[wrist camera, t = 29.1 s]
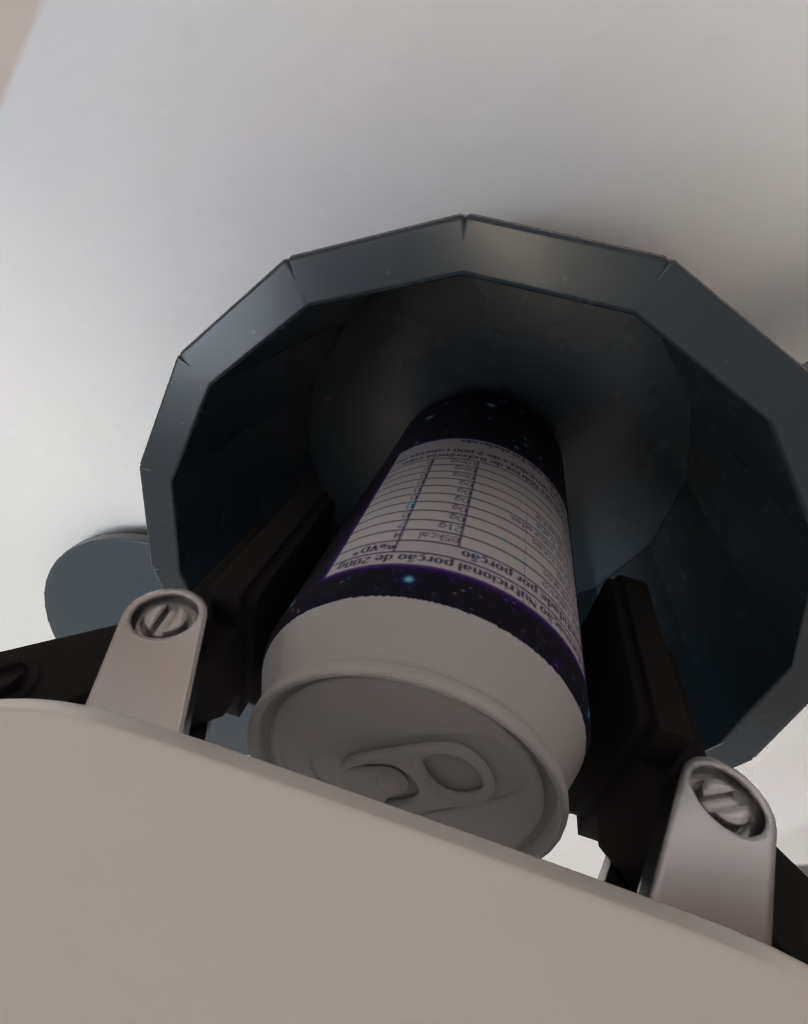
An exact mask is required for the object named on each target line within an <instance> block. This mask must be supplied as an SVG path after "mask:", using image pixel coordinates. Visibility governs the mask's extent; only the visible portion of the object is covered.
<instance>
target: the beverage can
mask: <svg viewBox="0 0 808 1024" xmlns="http://www.w3.org/2000/svg"><path fill="white" fill-rule="evenodd" d="M590 738H591V722H590V712H589V703H588V694H587V684H586V675H585V665H584V656H583V646H582V637H581V628H580V618H579V609H578V599H577V590H576V580H575V571H574V562H573V552H572V543H571V533H570V524H569V514H568V505H567V496H566V486H565V477H564V467H563V460H562V455H561V451H560V448H559V446H558V443H557V441H556V439H555V437H554V435H553V434H552V432H551V430H550V429H549V428H548V426H547V425H546V424H545V423H544V422H543V421H542V420H541V419H540V418H539V417H538V416H537V415H536V414H535V413H534V412H532V411H531V410H530V409H528V408H527V407H525V406H523V405H522V404H520V403H518V402H516V401H514V400H511V399H508V398H506V397H502V396H499V395H494V394H488V393H465V394H459V395H454V396H451V397H448V398H445V399H442V400H440V401H438V402H436V403H434V404H432V405H430V406H429V407H427V408H426V409H424V410H423V411H422V412H421V413H420V414H418V415H417V416H416V417H415V418H414V419H413V421H412V422H411V423H410V424H409V426H408V427H407V428H406V430H405V431H404V433H403V434H402V436H401V437H400V439H399V441H398V442H397V444H396V445H395V447H394V448H393V450H392V451H391V453H390V454H389V456H388V457H387V459H386V460H385V462H384V463H383V465H382V466H381V468H380V469H379V471H378V472H377V474H376V475H375V477H374V478H373V480H372V481H371V483H370V484H369V486H368V488H367V489H366V491H365V492H364V494H363V495H362V497H361V498H360V500H359V501H358V503H357V504H356V506H355V507H354V509H353V510H352V512H351V513H350V515H349V516H348V518H347V519H346V521H345V522H344V524H343V525H342V527H341V528H340V530H339V531H338V533H337V535H336V536H335V538H334V539H333V541H332V542H331V544H330V545H329V547H328V548H327V550H326V551H325V553H324V554H323V556H322V557H321V559H320V560H319V562H318V563H317V565H316V566H315V568H314V569H313V571H312V572H311V574H310V575H309V577H308V578H307V580H306V582H305V583H304V585H303V586H302V588H301V589H300V591H299V592H298V594H297V595H296V597H295V598H294V600H293V601H292V603H291V604H290V606H289V607H288V609H287V610H286V612H285V613H284V615H283V616H282V618H281V619H280V621H279V622H278V624H277V625H276V627H275V629H274V630H273V632H272V633H271V635H270V637H269V640H268V642H267V645H266V648H265V651H264V656H263V664H262V696H261V698H260V699H259V701H258V702H257V704H256V706H255V708H254V709H253V711H252V714H251V717H250V721H249V725H248V738H247V741H248V747H249V753H250V757H253V758H256V759H259V760H262V761H265V762H268V763H271V764H273V765H276V766H279V767H282V768H285V769H288V770H291V771H294V772H296V773H299V774H302V775H305V776H308V777H311V778H314V779H317V780H320V781H322V782H325V783H328V784H331V785H334V786H337V787H340V788H342V789H345V790H348V791H351V792H354V793H357V794H359V795H362V796H365V797H368V798H371V799H374V800H376V801H379V802H382V803H385V804H388V805H391V806H394V807H396V808H399V809H402V810H405V811H408V812H411V813H413V814H416V815H419V816H422V817H425V818H428V819H430V820H433V821H436V822H439V823H442V824H444V825H447V826H450V827H453V828H456V829H459V830H461V831H464V832H467V833H470V834H473V835H476V836H478V837H481V838H484V839H487V840H490V841H492V842H495V843H498V844H501V845H504V846H506V847H509V848H512V849H515V850H518V851H520V852H523V853H526V854H529V855H531V856H534V857H537V858H540V859H541V858H543V857H544V856H545V855H547V854H548V853H549V852H550V851H551V850H552V849H553V848H554V846H555V845H556V844H557V843H558V842H559V840H560V839H561V836H562V834H563V832H564V829H565V827H566V824H567V820H568V813H569V799H568V790H569V788H570V787H571V785H572V783H573V781H574V779H575V778H576V776H577V774H578V772H579V771H580V769H581V767H582V765H583V762H584V760H585V757H586V755H587V752H588V749H589V745H590Z"/></svg>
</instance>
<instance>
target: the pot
mask: <svg viewBox="0 0 808 1024" xmlns="http://www.w3.org/2000/svg"><path fill="white" fill-rule="evenodd" d="M465 393H488V394H494V395H499V396H502V397H506V398H508V399H511V400H514V401H516V402H518V403H520V404H522V405H523V406H525V407H527V408H528V409H530V410H531V411H532V412H534V413H535V414H536V415H537V416H538V417H539V418H540V419H541V420H542V421H543V422H544V423H545V424H546V425H547V426H548V428H549V429H550V430H551V432H552V434H553V435H554V437H555V439H556V441H557V443H558V446H559V448H560V451H561V455H562V460H563V467H564V477H565V486H566V496H567V505H568V514H569V524H570V533H571V543H572V552H573V562H574V571H575V580H576V590H577V599H578V609H579V618H580V628H581V626H582V624H583V622H584V620H585V618H586V616H587V614H588V612H589V611H590V609H591V607H592V605H593V603H594V601H595V599H596V597H597V595H598V594H599V592H600V590H601V588H602V586H603V584H604V582H605V581H606V580H607V579H608V578H610V579H613V580H614V579H615V578H616V577H617V576H618V575H622V576H626V577H629V578H633V579H636V580H640V581H643V582H645V583H646V584H647V586H648V589H649V592H650V595H651V599H652V602H653V605H654V608H655V612H656V615H657V618H658V621H659V625H660V628H661V631H662V635H663V638H664V641H665V644H666V648H667V649H669V650H670V651H671V652H672V653H673V655H674V657H675V660H676V663H677V666H678V669H679V672H680V675H681V678H682V682H683V685H684V688H685V691H686V694H687V697H688V700H689V703H690V707H691V710H692V713H693V716H694V719H695V722H696V725H697V729H698V732H699V735H700V738H701V741H702V744H703V747H704V750H705V754H706V757H710V758H713V759H717V760H720V761H722V762H724V763H725V764H727V765H729V766H731V767H733V768H734V767H736V766H738V765H741V764H743V763H745V762H748V761H750V760H752V759H753V757H756V756H757V755H758V754H759V753H760V752H761V751H762V750H763V749H764V748H765V747H766V746H767V745H768V744H769V743H770V742H771V741H772V740H773V739H774V737H775V736H776V735H777V734H778V733H779V732H780V731H781V730H782V729H783V728H784V727H785V726H786V725H787V724H788V723H789V722H790V721H791V720H792V719H793V718H794V717H795V716H796V715H797V714H798V713H799V712H800V711H801V710H802V709H803V708H804V707H805V706H806V705H807V704H808V362H806V363H803V364H799V363H798V362H797V361H796V360H795V359H793V358H792V357H791V356H790V355H789V354H787V353H786V352H785V351H784V350H783V349H781V348H780V347H779V346H778V345H777V344H775V343H774V342H773V341H772V340H771V339H769V338H768V337H767V336H766V335H765V334H763V333H762V332H761V331H760V330H759V329H757V328H756V327H755V326H754V325H752V324H751V323H750V322H749V321H748V320H746V319H745V318H744V317H743V316H742V315H740V314H739V313H738V312H737V311H736V310H734V309H733V308H732V307H731V306H730V305H728V304H727V303H726V302H725V301H724V300H722V299H721V298H720V297H719V296H718V295H716V294H715V293H714V292H713V291H712V290H710V289H709V288H708V287H707V286H705V285H704V284H703V283H702V282H701V281H699V280H698V279H697V278H696V277H695V276H693V275H692V274H691V273H690V272H689V271H687V270H686V269H685V268H684V267H683V266H681V265H680V264H679V263H678V262H677V261H675V260H672V259H668V258H667V257H666V256H664V255H659V254H655V253H650V252H645V251H641V250H636V249H632V248H627V247H623V246H618V245H613V244H609V243H604V242H600V241H595V240H590V239H586V238H581V237H577V236H572V235H568V234H563V233H558V232H554V231H549V230H545V229H540V228H535V227H531V226H526V225H522V224H517V223H513V222H508V221H503V220H499V219H494V218H490V217H485V216H480V215H476V214H468V215H463V214H457V215H453V216H449V217H445V218H441V219H437V220H433V221H429V222H425V223H421V224H417V225H413V226H409V227H405V228H400V229H396V230H392V231H388V232H384V233H380V234H376V235H372V236H368V237H364V238H360V239H356V240H352V241H348V242H344V243H340V244H336V245H332V246H328V247H324V248H320V249H316V250H312V251H308V252H304V253H300V254H296V255H292V256H291V257H290V258H289V259H285V260H283V261H282V262H281V263H279V264H278V265H277V266H276V267H275V268H274V269H273V270H272V271H271V272H269V273H268V274H267V275H266V276H265V277H264V278H263V279H262V280H261V281H259V282H258V283H257V284H256V285H255V286H254V287H253V288H252V289H251V290H249V291H248V292H247V293H246V294H245V295H244V296H243V297H242V298H240V299H239V300H238V301H237V302H236V303H235V304H234V305H233V306H232V307H230V308H229V309H228V310H227V311H226V312H225V313H224V314H223V315H222V316H220V317H219V318H218V319H217V320H216V321H215V322H214V323H213V324H211V325H210V326H209V327H208V328H207V329H206V330H205V331H204V332H203V333H201V334H200V335H199V336H198V337H197V338H196V339H195V340H194V341H193V342H191V343H190V344H189V345H188V346H187V347H186V348H185V349H184V350H183V351H182V352H181V353H180V355H179V356H178V357H177V360H176V362H175V365H174V368H173V371H172V374H171V377H170V380H169V383H168V385H167V388H166V391H165V394H164V397H163V400H162V403H161V406H160V408H159V411H158V414H157V417H156V420H155V423H154V426H153V428H152V431H151V434H150V437H149V440H148V443H147V446H146V449H145V451H144V454H143V457H142V460H141V463H140V464H141V466H140V474H141V482H142V490H143V499H144V507H145V515H146V524H147V532H148V541H149V549H150V557H151V566H152V567H153V568H154V572H155V574H156V576H157V577H158V579H159V581H160V583H161V585H162V587H163V589H169V588H177V589H186V590H188V591H191V592H192V591H193V590H194V589H195V588H196V587H197V586H198V584H199V583H200V582H201V581H202V580H203V579H204V578H205V577H206V576H207V575H208V574H209V573H210V572H211V571H212V570H213V569H214V568H215V567H216V566H217V565H218V564H219V562H220V561H221V560H222V559H223V558H224V557H225V556H226V555H227V554H228V553H229V552H230V551H231V550H232V549H233V548H234V547H235V546H236V545H237V544H238V543H239V542H240V540H241V539H242V538H243V537H244V536H245V535H246V534H247V533H248V532H249V531H250V530H251V529H252V528H254V527H256V526H260V527H263V528H265V527H266V526H267V524H268V523H269V522H270V521H271V520H272V519H273V518H274V517H275V516H276V515H277V514H278V512H279V511H280V510H281V509H282V508H283V507H284V506H285V505H286V504H287V503H288V502H289V500H290V499H291V498H292V497H293V496H294V495H295V494H296V493H297V492H298V491H299V490H300V488H301V487H302V486H304V485H309V486H313V487H316V488H320V489H323V490H327V491H328V495H329V496H328V497H329V498H333V499H334V501H335V504H334V512H333V520H332V528H331V536H330V544H331V542H332V541H333V539H334V538H335V536H336V535H337V533H338V531H339V530H340V528H341V527H342V525H343V524H344V522H345V521H346V519H347V518H348V516H349V515H350V513H351V512H352V510H353V509H354V507H355V506H356V504H357V503H358V501H359V500H360V498H361V497H362V495H363V494H364V492H365V491H366V489H367V488H368V486H369V484H370V483H371V481H372V480H373V478H374V477H375V475H376V474H377V472H378V471H379V469H380V468H381V466H382V465H383V463H384V462H385V460H386V459H387V457H388V456H389V454H390V453H391V451H392V450H393V448H394V447H395V445H396V444H397V442H398V441H399V439H400V437H401V436H402V434H403V433H404V431H405V430H406V428H407V427H408V426H409V424H410V423H411V422H412V421H413V419H414V418H415V417H416V416H417V415H418V414H420V413H421V412H422V411H423V410H424V409H426V408H427V407H429V406H430V405H432V404H434V403H436V402H438V401H440V400H442V399H445V398H448V397H451V396H454V395H459V394H465ZM330 544H329V545H330ZM260 698H261V697H260ZM258 701H259V700H258ZM256 704H257V703H256ZM256 704H255V705H252V704H249V703H248V704H247V706H248V707H249V708H250V709H251V710H252V711H253V709H254V708H255V706H256ZM568 814H572V813H571V812H570V810H569V813H568Z"/></svg>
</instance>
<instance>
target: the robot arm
mask: <svg viewBox="0 0 808 1024" xmlns="http://www.w3.org/2000/svg"><path fill="white" fill-rule="evenodd" d="M328 496H329V495H328V491H327V490H323V489H320V488H316V487H313V486H309V485H304V486H302V487H301V488H300V490H299V491H298V492H297V493H296V494H295V495H294V496H293V497H292V498H291V499H290V500H289V502H288V503H287V504H286V505H285V506H284V507H283V508H282V509H281V510H280V511H279V512H278V514H277V515H276V516H275V517H274V518H273V519H272V520H271V521H270V522H269V523H268V524H267V526H266V527H265V528H263V527H260V526H256V527H254V528H252V529H251V530H250V531H249V532H248V533H247V534H246V535H245V536H244V537H243V538H242V539H241V540H240V542H239V543H238V544H237V545H236V546H235V547H234V548H233V549H232V550H231V551H230V552H229V553H228V554H227V555H226V556H225V557H224V558H223V559H222V560H221V561H220V562H219V564H218V565H217V566H216V567H215V568H214V569H213V570H212V571H211V572H210V573H209V574H208V575H207V576H206V577H205V578H204V579H203V580H202V581H201V582H200V583H199V584H198V586H197V587H196V588H195V589H194V590H193V591H192V592H191V591H188V590H186V589H177V588H169V589H160V590H156V591H152V592H149V593H146V594H144V595H142V596H140V597H138V598H137V599H135V600H134V601H133V602H132V603H131V604H129V605H128V606H127V608H126V609H125V611H124V612H123V614H122V616H121V619H120V621H119V623H118V624H117V625H113V626H109V627H104V628H100V629H96V630H92V631H87V632H83V633H79V634H75V635H71V636H66V637H62V638H58V639H54V640H49V641H45V642H41V643H37V644H32V645H28V646H24V647H20V648H15V649H11V650H7V651H3V652H0V1024H808V877H807V876H806V875H804V873H803V872H802V871H800V869H798V867H797V866H796V865H795V864H793V863H792V862H791V861H790V860H789V859H788V858H787V857H786V856H785V855H784V854H783V853H782V852H781V851H780V850H779V849H778V848H777V847H776V839H777V828H776V822H775V817H774V815H773V813H772V810H771V808H770V806H769V804H768V802H767V801H766V800H765V798H764V797H763V795H762V794H761V793H760V791H759V790H758V789H757V788H756V787H755V786H754V785H753V784H752V783H751V782H750V781H749V780H748V779H747V778H746V777H745V776H744V775H742V774H741V773H740V772H738V771H737V770H736V769H734V768H733V767H731V766H729V765H727V764H725V763H724V762H722V761H720V760H717V759H713V758H710V757H706V754H705V750H704V747H703V744H702V741H701V738H700V735H699V732H698V729H697V725H696V722H695V719H694V716H693V713H692V710H691V707H690V703H689V700H688V697H687V694H686V691H685V688H684V685H683V682H682V678H681V675H680V672H679V669H678V666H677V663H676V660H675V657H674V655H673V653H672V652H671V651H670V650H669V649H667V648H666V644H665V641H664V638H663V635H662V631H661V628H660V625H659V621H658V618H657V615H656V612H655V608H654V605H653V602H652V599H651V595H650V592H649V589H648V586H647V584H646V583H645V582H643V581H640V580H636V579H633V578H629V577H626V576H622V575H618V576H617V577H616V578H615V579H614V580H613V579H610V578H608V579H607V580H606V581H605V582H604V584H603V586H602V588H601V590H600V592H599V594H598V595H597V597H596V599H595V601H594V603H593V605H592V607H591V609H590V611H589V612H588V614H587V616H586V618H585V620H584V622H583V624H582V626H581V637H582V646H583V656H584V665H585V675H586V684H587V694H588V703H589V712H590V722H591V738H590V745H589V749H588V752H587V755H586V757H585V760H584V762H583V765H582V767H581V769H580V771H579V772H578V774H577V776H576V778H575V779H574V781H573V783H572V785H571V787H570V788H569V790H568V799H569V810H570V812H571V813H572V814H575V815H577V826H578V835H581V836H584V837H587V838H590V839H593V840H596V841H598V844H599V847H600V848H601V850H602V851H603V852H604V853H605V855H606V856H605V859H604V862H603V865H602V868H601V871H600V874H599V877H598V879H596V878H593V877H590V876H587V875H584V874H582V873H579V872H576V871H573V870H570V869H568V868H565V867H562V866H559V865H557V864H554V863H551V862H548V861H545V860H543V859H540V858H537V857H534V856H531V855H529V854H526V853H523V852H520V851H518V850H515V849H512V848H509V847H506V846H504V845H501V844H498V843H495V842H492V841H490V840H487V839H484V838H481V837H478V836H476V835H473V834H470V833H467V832H464V831H461V830H459V829H456V828H453V827H450V826H447V825H444V824H442V823H439V822H436V821H433V820H430V819H428V818H425V817H422V816H419V815H416V814H413V813H411V812H408V811H405V810H402V809H399V808H396V807H394V806H391V805H388V804H385V803H382V802H379V801H376V800H374V799H371V798H368V797H365V796H362V795H359V794H357V793H354V792H351V791H348V790H345V789H342V788H340V787H337V786H334V785H331V784H328V783H325V782H322V781H320V780H317V779H314V778H311V777H308V776H305V775H302V774H299V773H296V772H294V771H291V770H288V769H285V768H282V767H279V766H276V765H273V764H271V763H268V762H265V761H262V760H259V759H256V758H253V757H250V756H247V755H245V754H242V753H239V752H236V751H233V750H230V749H227V748H224V747H222V746H219V745H216V744H213V743H210V742H208V740H209V734H210V728H211V722H212V720H214V719H217V718H219V717H222V716H224V714H225V713H228V714H231V715H234V716H237V717H240V715H241V714H242V712H243V711H244V709H245V707H246V706H247V704H248V703H249V704H252V705H255V704H256V703H257V702H258V700H259V699H260V697H261V696H262V664H263V656H264V651H265V648H266V645H267V642H268V640H269V637H270V635H271V633H272V632H273V630H274V629H275V627H276V625H277V624H278V622H279V621H280V619H281V618H282V616H283V615H284V613H285V612H286V610H287V609H288V607H289V606H290V604H291V603H292V601H293V600H294V598H295V597H296V595H297V594H298V592H299V591H300V589H301V588H302V586H303V585H304V583H305V582H306V580H307V578H308V577H309V575H310V574H311V572H312V571H313V569H314V568H315V566H316V565H317V563H318V562H319V560H320V559H321V557H322V556H323V554H324V553H325V551H326V550H327V548H328V547H329V544H330V536H331V528H332V520H333V512H334V504H335V501H334V499H333V498H329V497H328Z"/></svg>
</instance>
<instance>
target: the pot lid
mask: <svg viewBox="0 0 808 1024" xmlns="http://www.w3.org/2000/svg"><path fill="white" fill-rule="evenodd" d="M160 589H163V587H162V585H161V583H160V581H159V579H158V577H157V576H156V574H155V572H154V568H153V567H152V566H151V557H150V549H149V541H148V535H142V534H134V533H113V534H106V535H99V536H96V537H93V538H90V539H87V540H84V541H82V542H81V543H79V544H77V545H75V546H73V547H72V548H71V549H69V550H68V551H66V552H65V553H64V554H63V555H62V556H61V557H60V558H59V559H57V561H56V562H55V564H54V565H53V567H52V568H51V570H50V572H49V575H48V577H47V580H46V585H45V592H44V595H45V608H46V613H47V617H48V621H49V623H50V626H51V629H52V632H53V634H54V636H55V638H56V639H58V638H62V637H66V636H71V635H75V634H79V633H83V632H87V631H92V630H96V629H100V628H104V627H109V626H113V625H117V624H118V623H119V621H120V619H121V616H122V614H123V612H124V611H125V609H126V608H127V606H128V605H129V604H131V603H132V602H133V601H134V600H135V599H137V598H138V597H140V596H142V595H144V594H146V593H149V592H152V591H156V590H160ZM251 714H252V710H251V709H250V708H249V707H248V706H246V707H245V709H244V711H243V712H242V714H241V715H240V717H237V716H234V715H231V714H228V713H225V714H224V716H222V717H219V718H217V719H214V720H212V722H211V728H210V734H209V740H208V742H210V743H213V744H216V745H219V746H222V747H224V748H227V749H230V750H233V751H236V752H239V753H242V754H245V755H250V753H249V747H248V741H247V738H248V725H249V721H250V717H251Z"/></svg>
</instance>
